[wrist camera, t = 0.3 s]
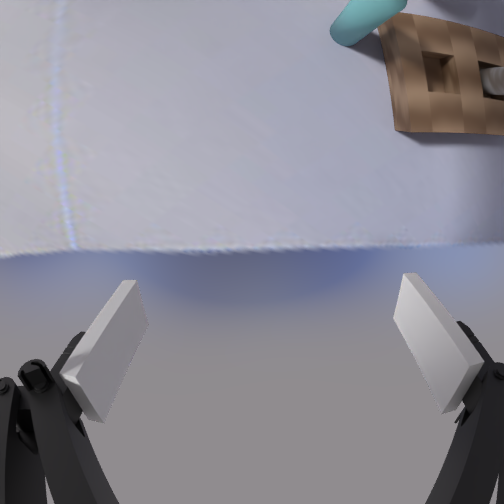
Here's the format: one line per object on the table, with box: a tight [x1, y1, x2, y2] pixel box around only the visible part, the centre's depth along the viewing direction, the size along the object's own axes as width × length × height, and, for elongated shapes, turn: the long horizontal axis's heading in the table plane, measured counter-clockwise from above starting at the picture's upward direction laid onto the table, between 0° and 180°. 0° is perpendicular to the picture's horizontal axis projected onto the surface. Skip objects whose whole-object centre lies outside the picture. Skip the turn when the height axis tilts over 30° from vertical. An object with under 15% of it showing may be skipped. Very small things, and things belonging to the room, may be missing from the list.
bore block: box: [378, 12, 504, 136], centre depth 26 cm, size 16×22×11 cm
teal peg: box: [330, 0, 407, 46], centre depth 23 cm, size 4×4×15 cm
